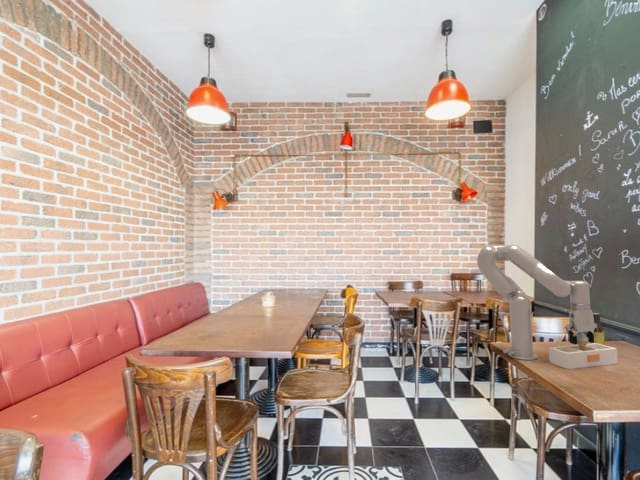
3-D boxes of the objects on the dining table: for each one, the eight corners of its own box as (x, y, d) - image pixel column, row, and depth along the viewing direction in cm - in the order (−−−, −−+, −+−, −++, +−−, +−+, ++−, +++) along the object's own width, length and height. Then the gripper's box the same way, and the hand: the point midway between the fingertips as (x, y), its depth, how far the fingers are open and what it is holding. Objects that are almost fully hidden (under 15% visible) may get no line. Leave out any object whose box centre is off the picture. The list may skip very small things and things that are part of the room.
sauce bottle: (608, 353, 176) (606, 314, 176) (594, 353, 177) (592, 314, 178) (601, 350, 182) (598, 312, 183) (587, 349, 183) (585, 312, 184)
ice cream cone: (590, 363, 160) (589, 330, 160) (575, 361, 162) (574, 329, 163) (589, 359, 164) (587, 327, 165) (574, 357, 167) (573, 326, 168)
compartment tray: (569, 369, 155) (568, 354, 155) (549, 362, 165) (548, 347, 166) (619, 364, 160) (618, 348, 161) (596, 357, 171) (595, 343, 171)
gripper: (572, 309, 159) (574, 346, 158) (602, 307, 162) (604, 343, 162) (558, 306, 166) (559, 342, 166) (587, 304, 169) (589, 339, 169)
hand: (582, 343), depth 164 cm, fingers open, 9 cm apart
